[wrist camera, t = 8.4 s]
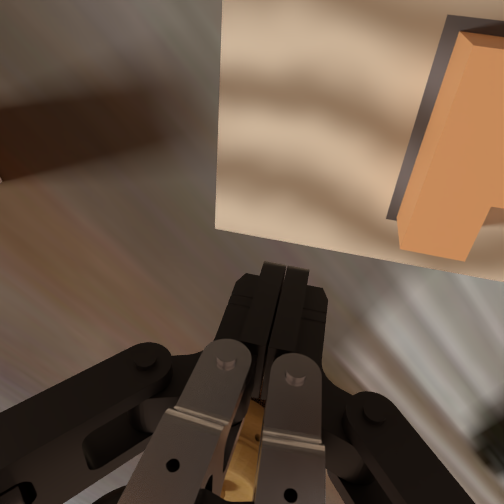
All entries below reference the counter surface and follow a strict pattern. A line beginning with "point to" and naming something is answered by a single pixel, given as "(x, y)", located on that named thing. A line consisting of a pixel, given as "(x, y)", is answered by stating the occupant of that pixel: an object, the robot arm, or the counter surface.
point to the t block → (459, 154)
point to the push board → (338, 120)
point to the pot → (244, 458)
